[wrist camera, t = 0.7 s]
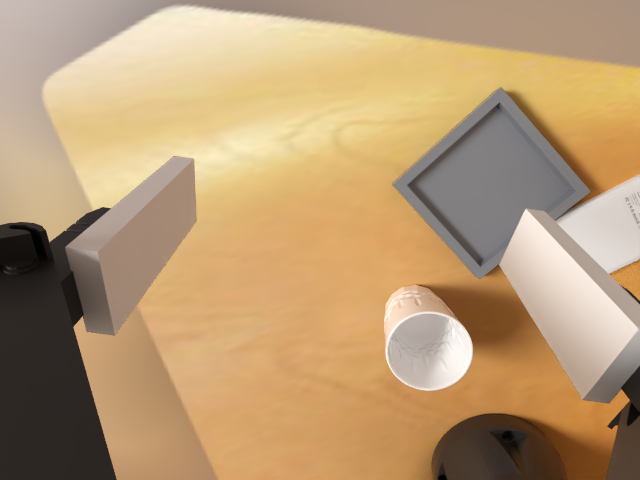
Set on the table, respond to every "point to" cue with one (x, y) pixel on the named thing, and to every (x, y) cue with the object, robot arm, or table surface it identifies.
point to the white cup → (425, 340)
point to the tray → (488, 182)
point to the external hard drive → (608, 225)
